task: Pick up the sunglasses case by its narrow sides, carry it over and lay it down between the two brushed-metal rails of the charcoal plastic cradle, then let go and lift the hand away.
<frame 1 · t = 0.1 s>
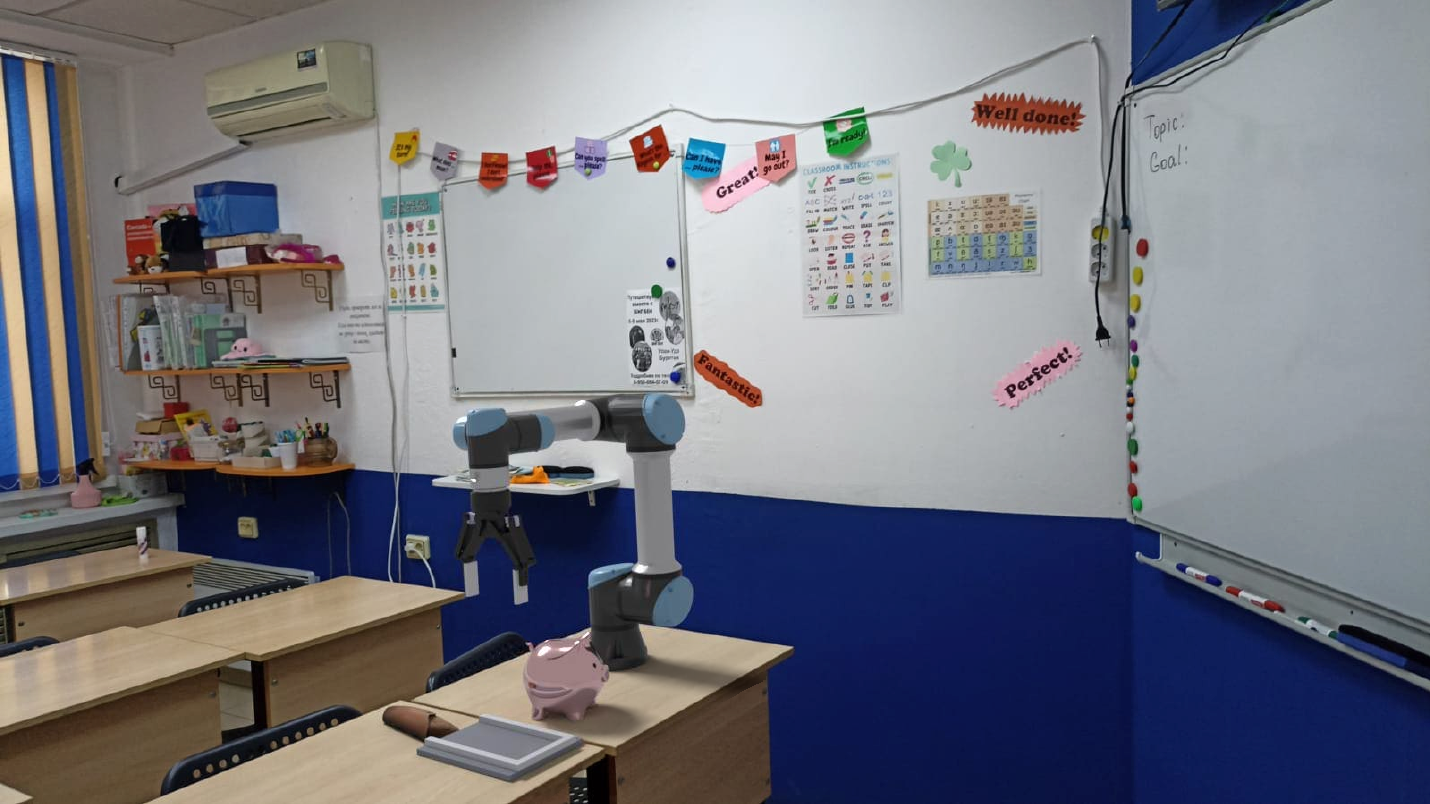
hand: (496, 599, 188), 28 cm above the table, tool pointing down, fingers open, 13 cm apart
piggy bank: (568, 712, 204), on the table
rail cradle: (500, 748, 186), on the table
sunglasses case: (422, 730, 199), on the table
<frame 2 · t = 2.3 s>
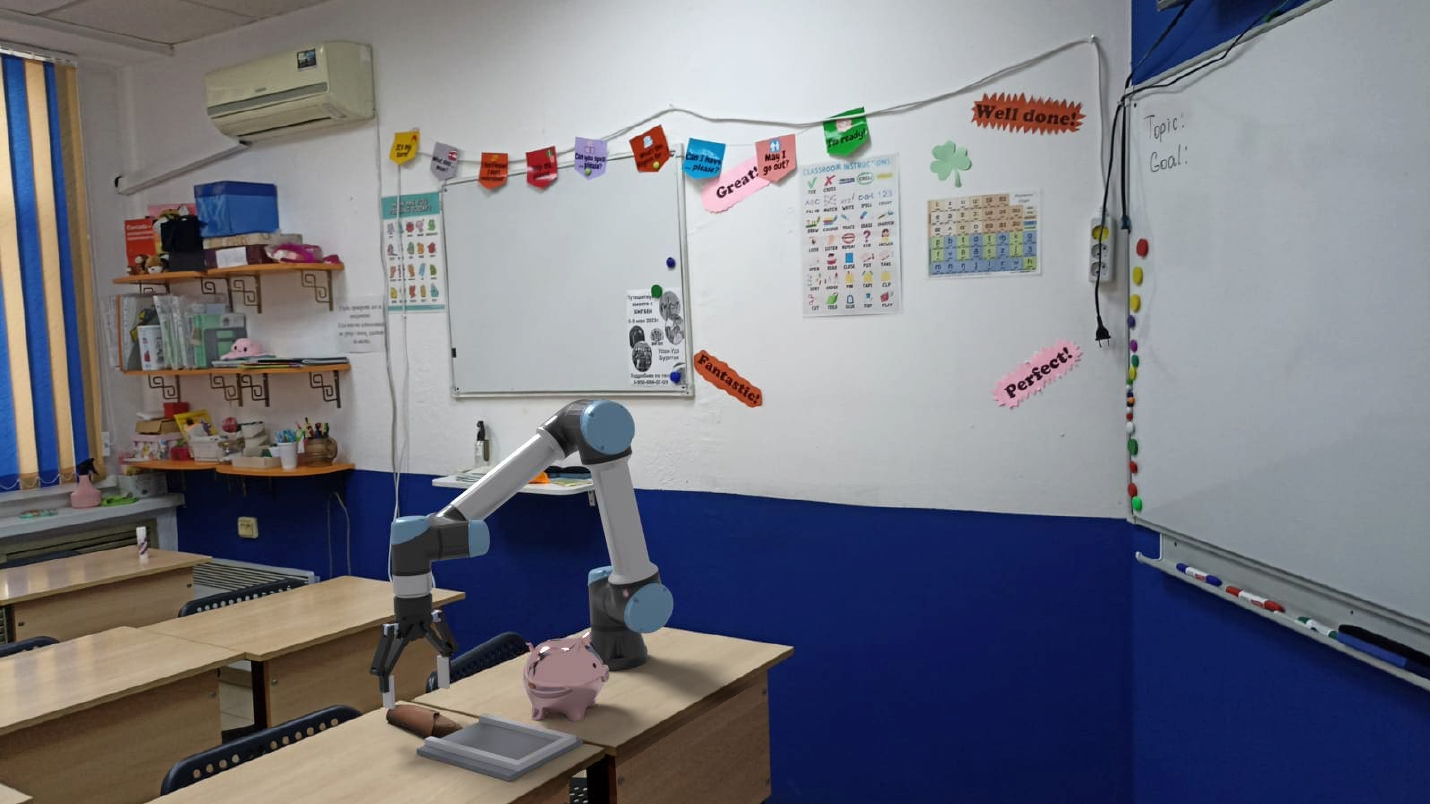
hand: (417, 697, 198), 6 cm above the table, tool pointing down, fingers open, 13 cm apart
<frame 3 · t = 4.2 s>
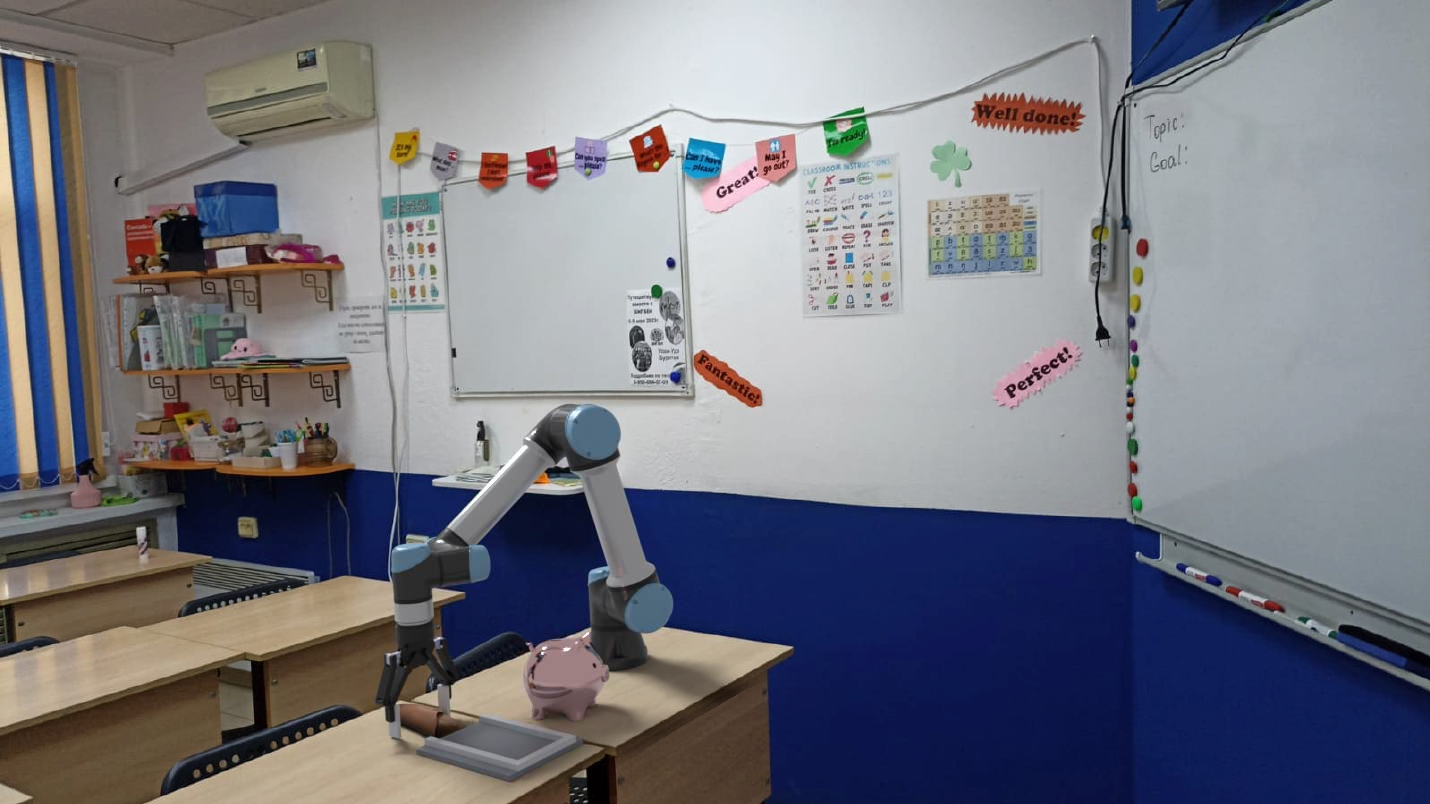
hand: (420, 726, 199), 0 cm above the table, tool pointing down, fingers open, 12 cm apart
sunglasses case: (429, 728, 200), on the table, touching gripper
everything else where it was.
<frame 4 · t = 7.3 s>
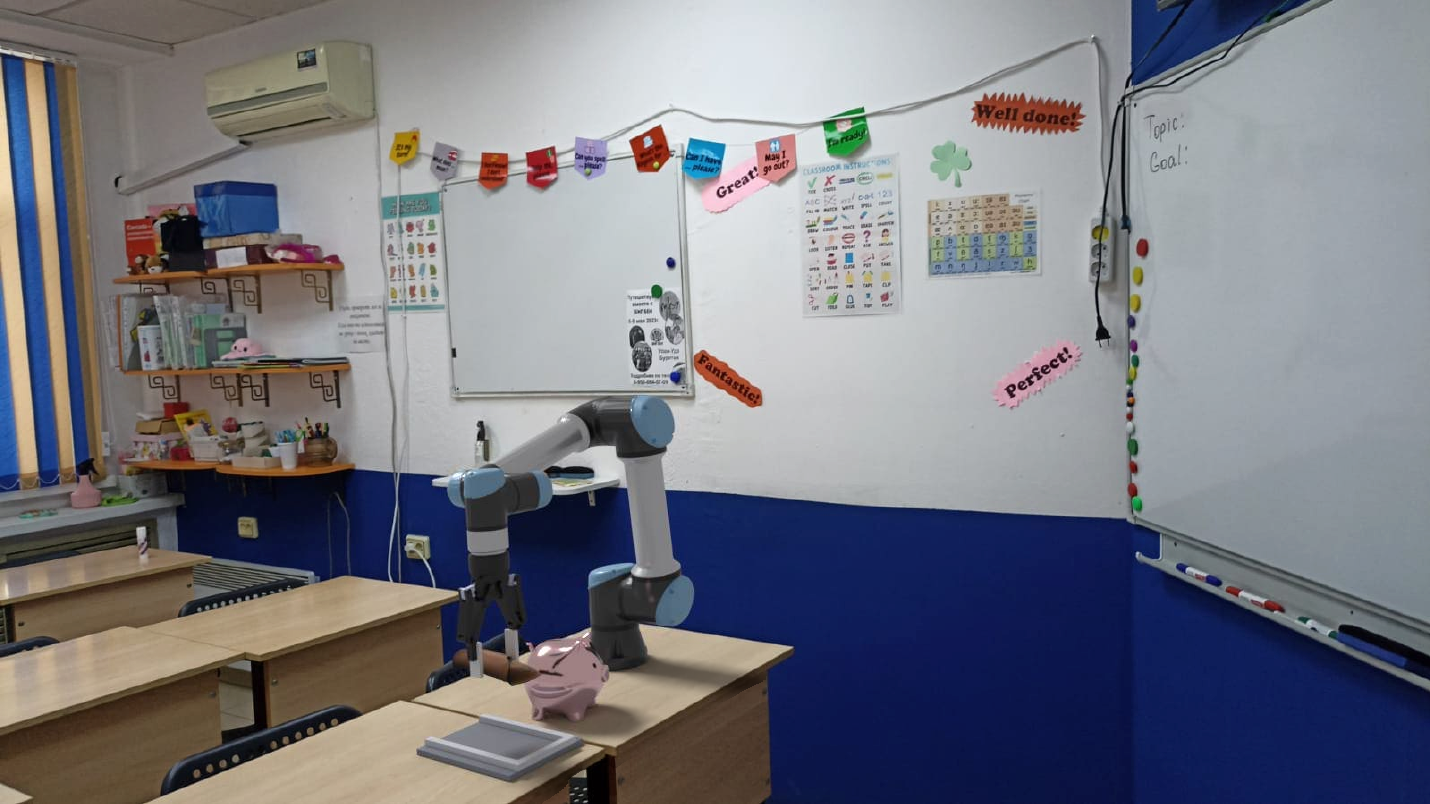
hand: (495, 669, 185), 15 cm above the table, tool pointing down, fingers closed on sunglasses case, 8 cm apart
sunglasses case: (497, 674, 185), point 14 cm above the table, touching gripper
everything else where it was.
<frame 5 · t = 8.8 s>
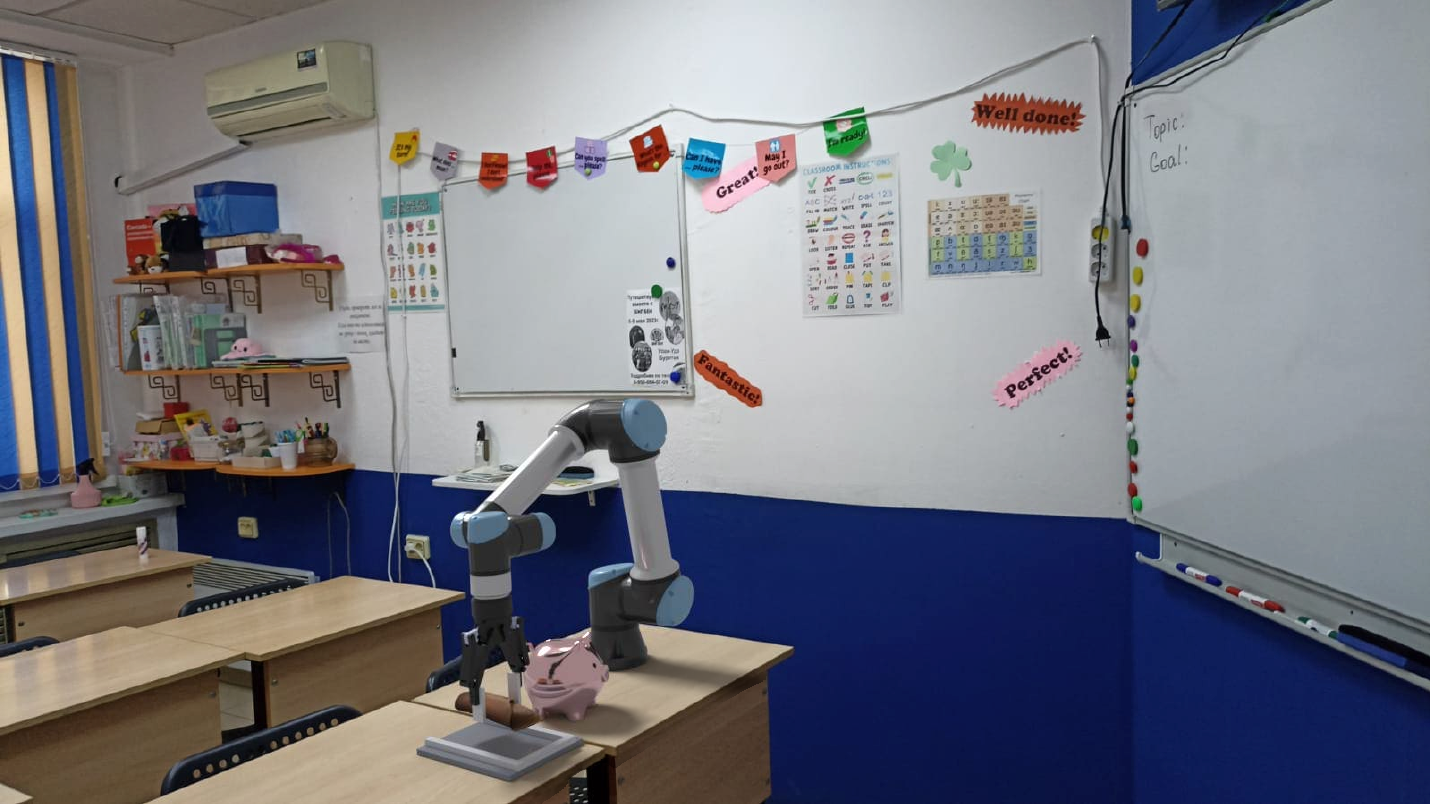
hand: (497, 713, 186), 7 cm above the table, tool pointing down, fingers closed on sunglasses case, 8 cm apart
sunglasses case: (499, 717, 186), point 6 cm above the table, touching gripper
everything else where it was.
when the fingers open (2 cm above the table, at t = 10.1 s): sunglasses case stays where it is, resting on rail cradle.
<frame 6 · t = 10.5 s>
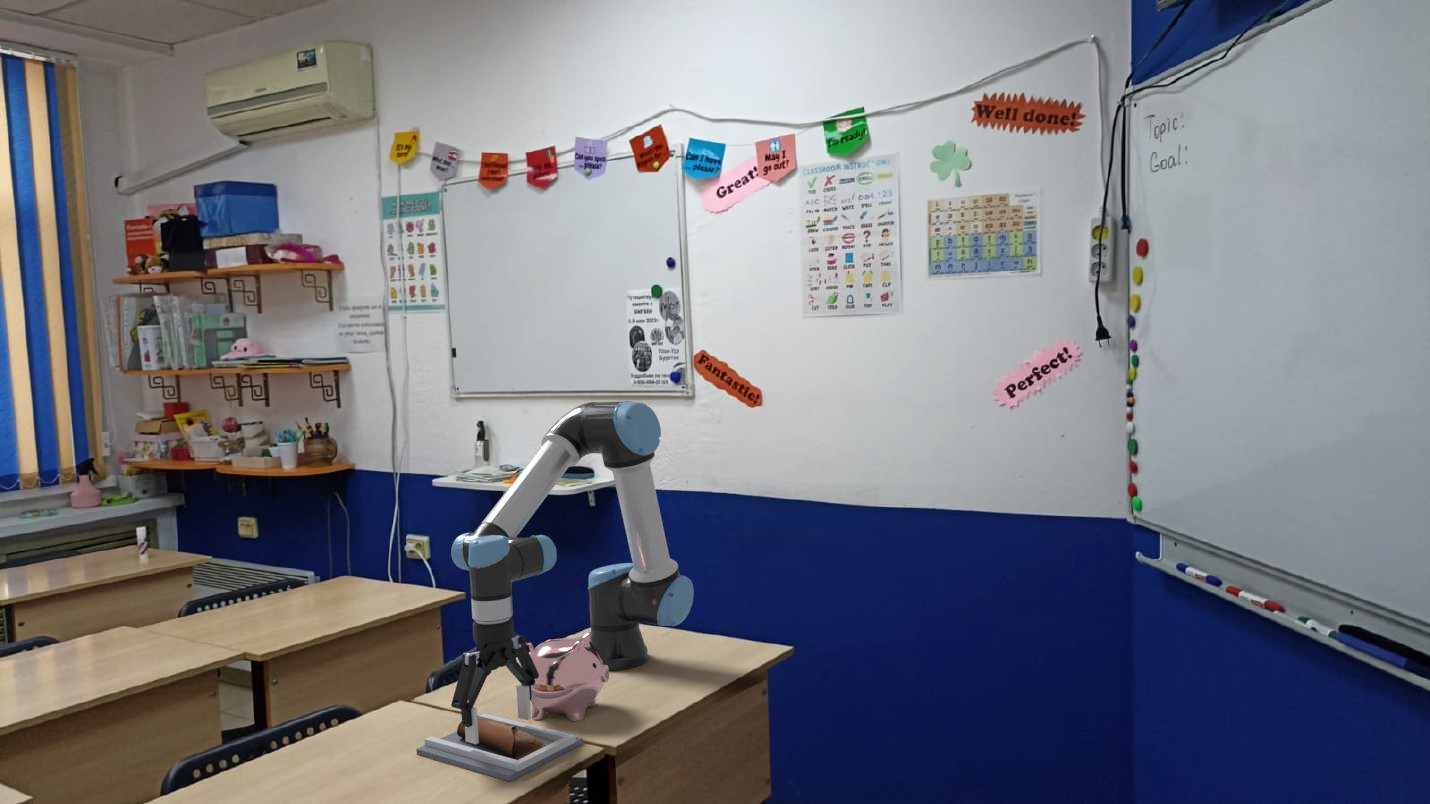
hand: (499, 730, 186), 4 cm above the table, tool pointing down, fingers open, 13 cm apart
sunglasses case: (501, 744, 186), point 1 cm above the table, touching rail cradle
everything else where it was.
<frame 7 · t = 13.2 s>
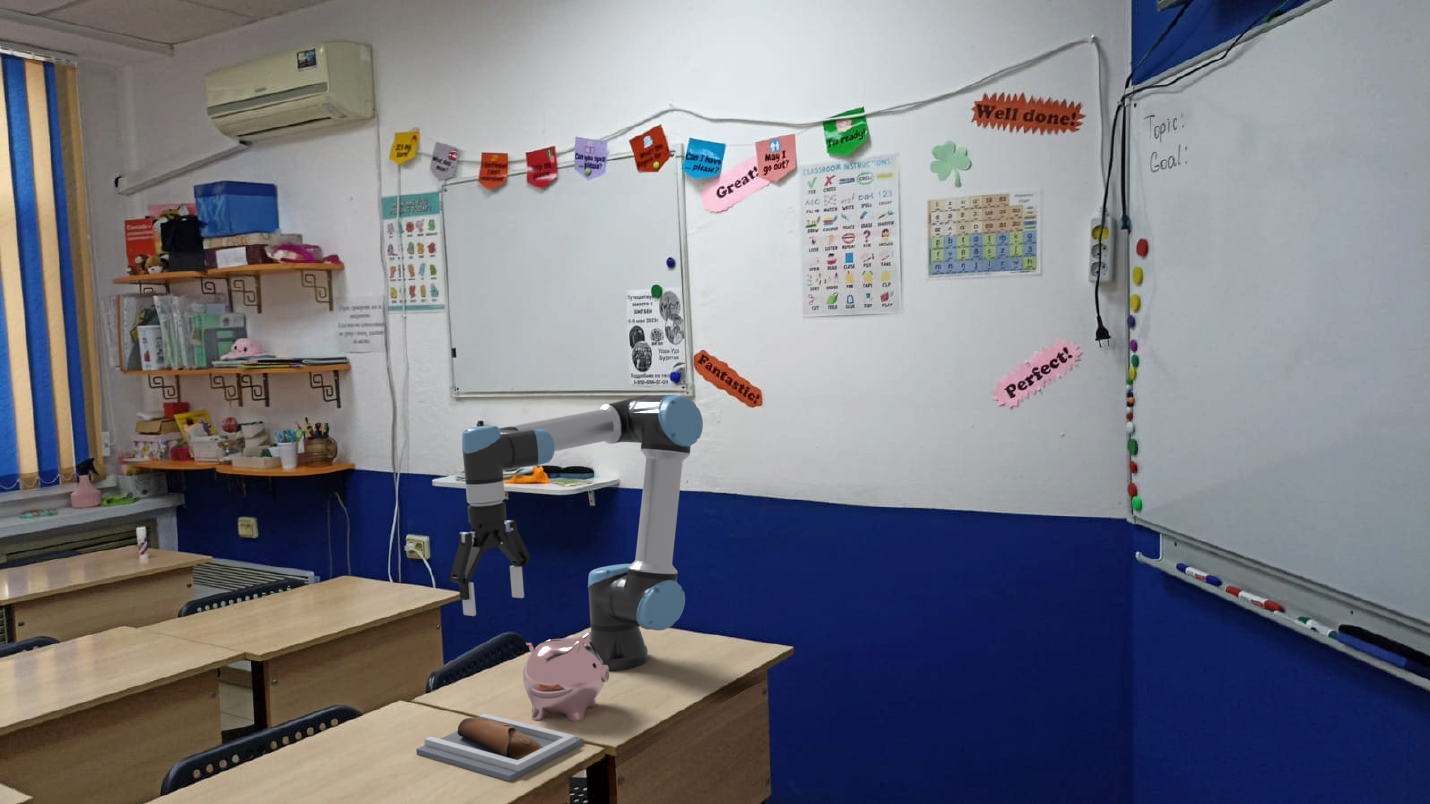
hand: (494, 605, 199), 24 cm above the table, tool pointing down, fingers open, 13 cm apart
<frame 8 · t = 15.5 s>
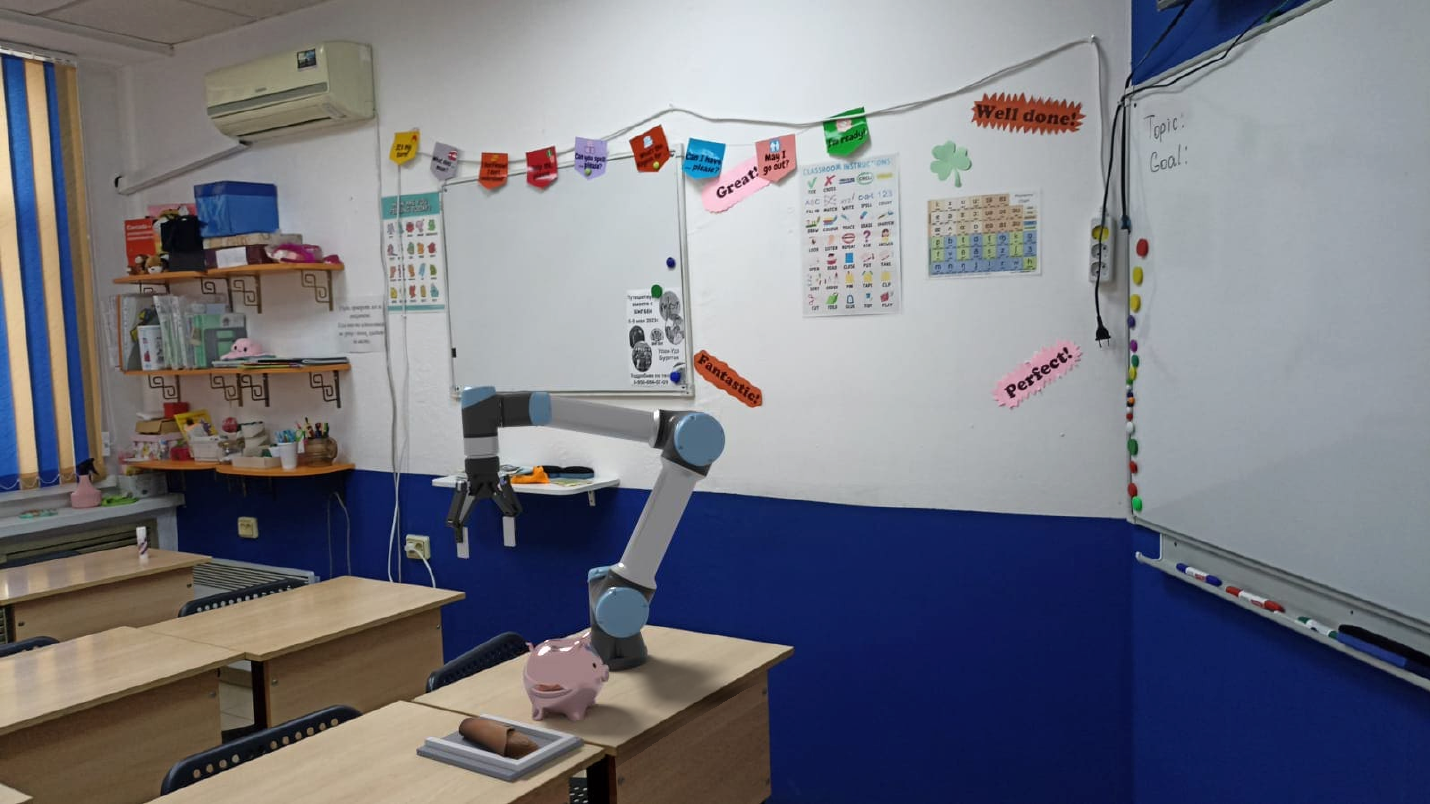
hand: (487, 551, 217), 32 cm above the table, tool pointing down, fingers open, 13 cm apart
nothing on the table moved.
at the end: sunglasses case inside the target area on the rail cradle (0.4 cm from its centre), point 0.8 cm above the rail cradle's base; the gripper is holding nothing; sunglasses case touching rail cradle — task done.
